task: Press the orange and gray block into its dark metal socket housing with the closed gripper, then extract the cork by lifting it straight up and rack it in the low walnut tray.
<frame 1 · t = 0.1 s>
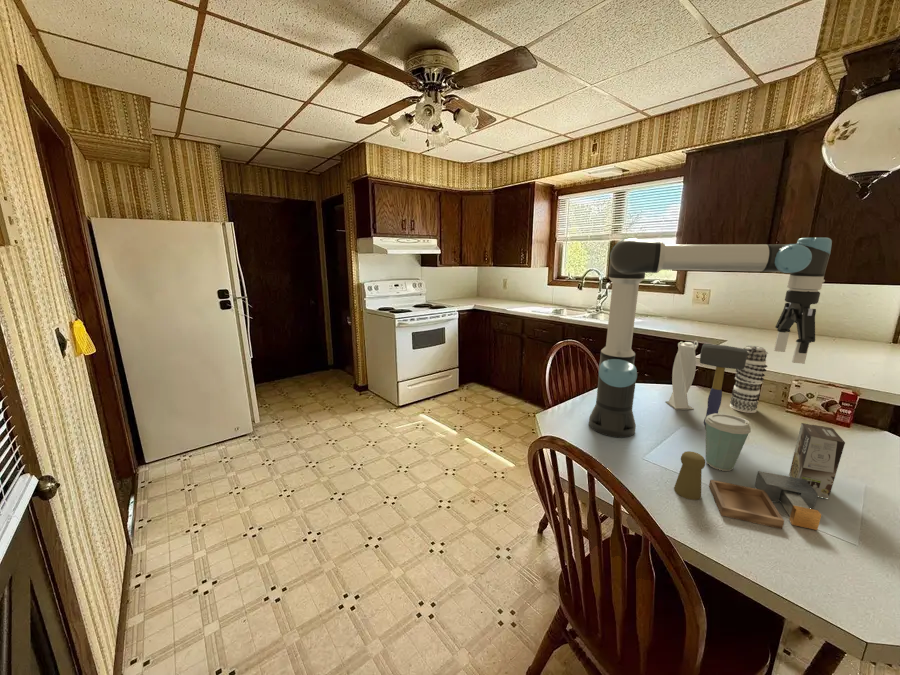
hand: (788, 356, 117), 28 cm above the table, fingers open, 13 cm apart
disposable coffee cup: (719, 465, 108), on the table
coffee box: (807, 487, 98), on the table
white patterned cylinder: (742, 408, 145), on the table
rubber mallet: (709, 428, 130), on the table
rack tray: (742, 506, 90), on the table
cork: (687, 492, 96), on the table
orange and gray block: (794, 503, 88), point 2 cm above the table, slide at 0.0 cm
socket housing: (782, 497, 93), on the table
skyscraper: (678, 407, 147), on the table
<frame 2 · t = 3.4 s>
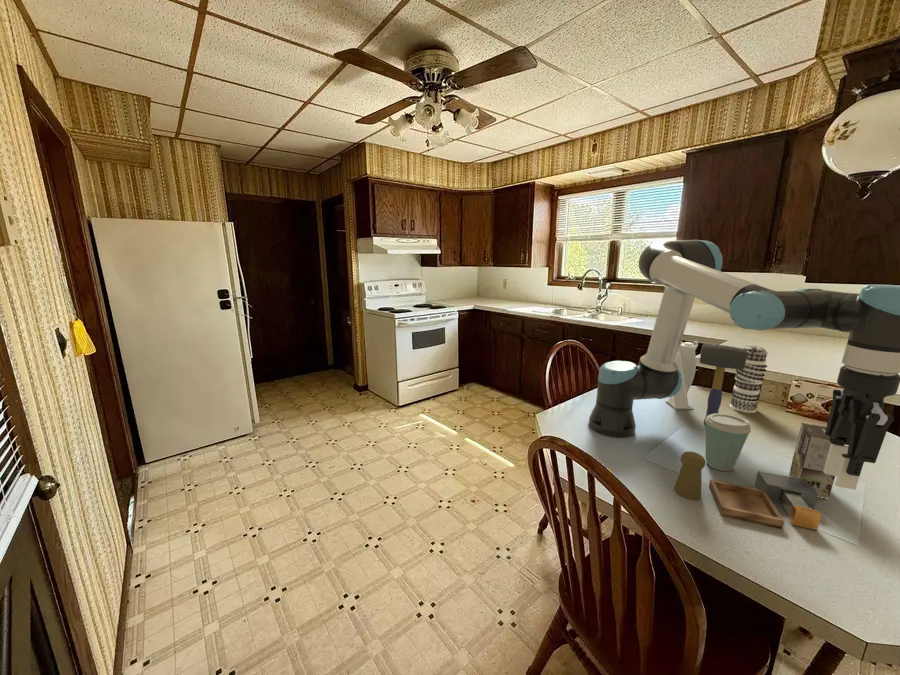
hand: (838, 480, 73), 17 cm above the table, fingers open, 4 cm apart
nothing on the table moved.
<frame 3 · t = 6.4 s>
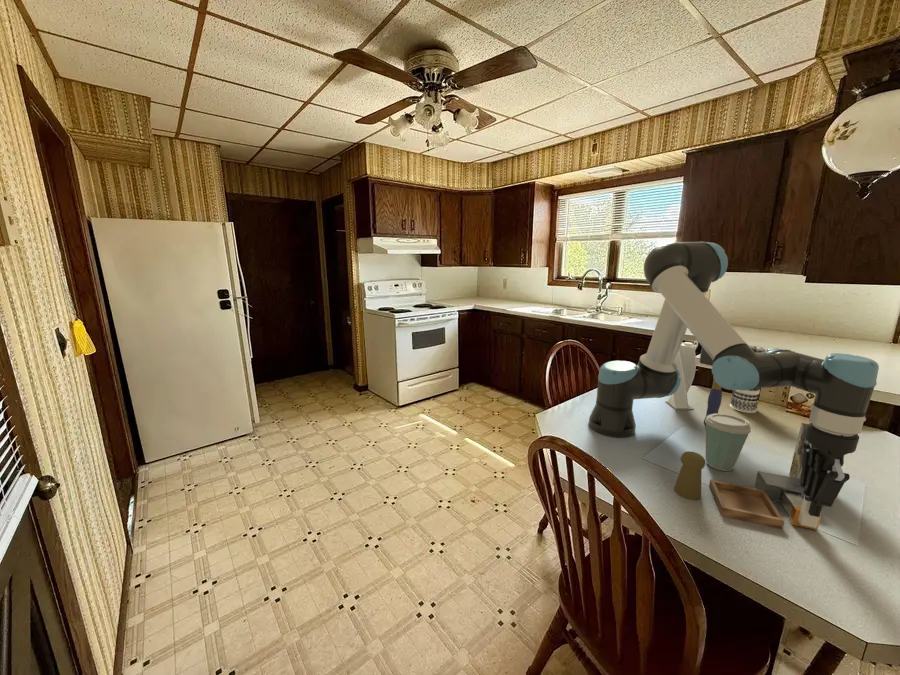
hand: (807, 524, 82), 2 cm above the table, fingers closed
orange and gray block: (794, 503, 88), point 2 cm above the table, slide at 0.0 cm, touching gripper
everything else where it was.
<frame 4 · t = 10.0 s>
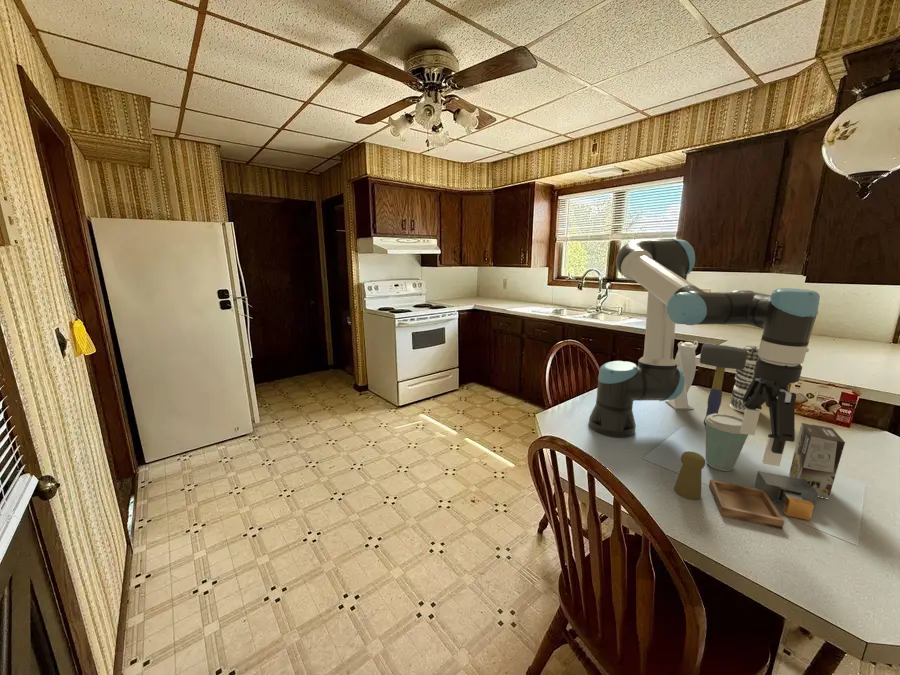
hand: (758, 447, 85), 17 cm above the table, fingers open, 13 cm apart
orange and gray block: (788, 495, 91), point 2 cm above the table, slide at 3.3 cm
everything else where it was.
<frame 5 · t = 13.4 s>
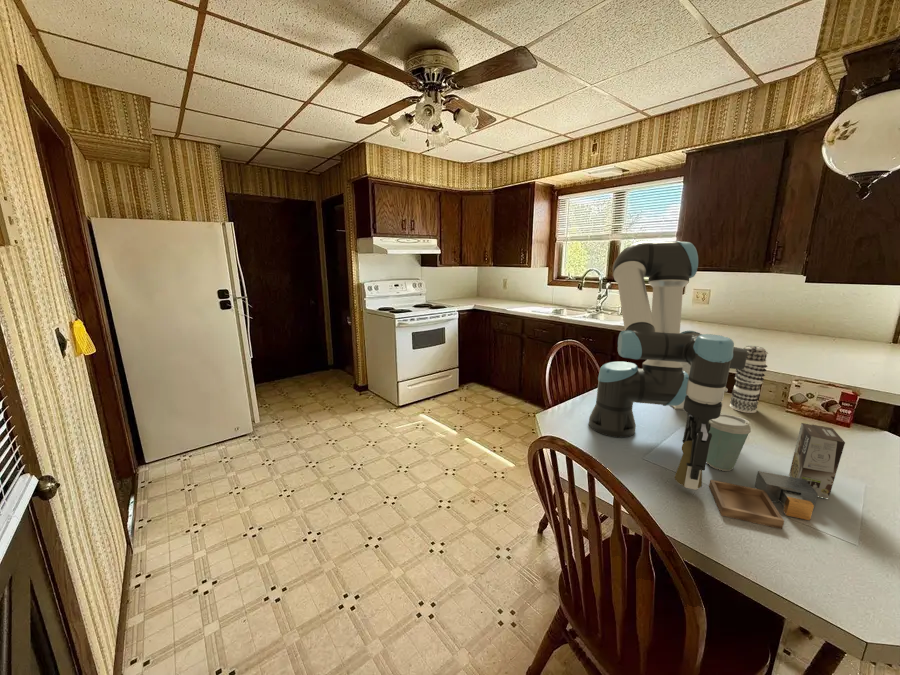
hand: (688, 479, 95), 3 cm above the table, fingers closed on cork, 6 cm apart
cork: (687, 481, 96), point 3 cm above the table, touching gripper
everything else where it was.
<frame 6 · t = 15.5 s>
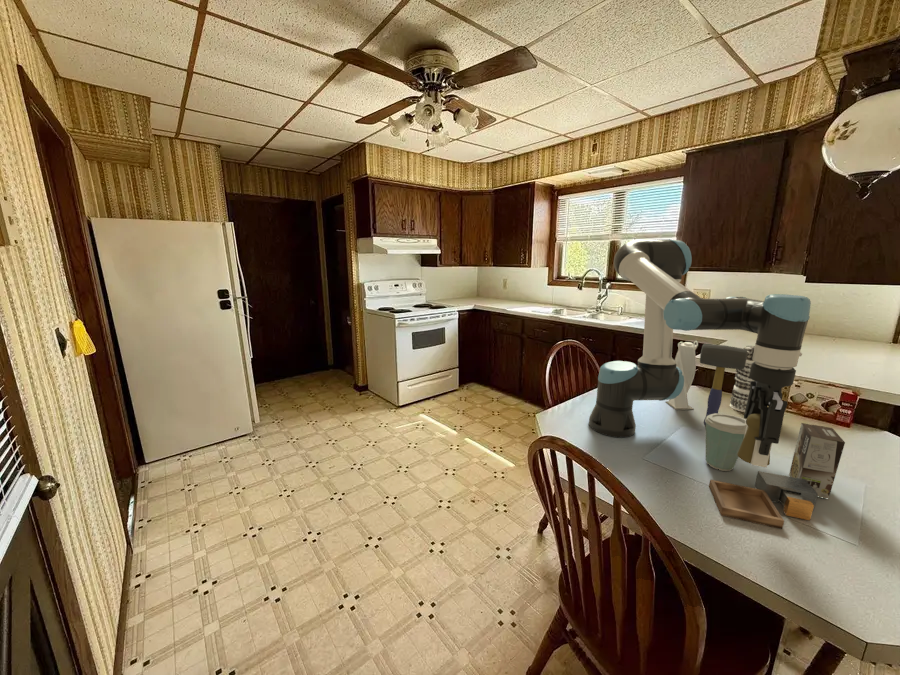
hand: (753, 457, 87), 13 cm above the table, fingers closed on cork, 6 cm apart
cork: (753, 459, 87), point 13 cm above the table, touching gripper
everything else where it was.
when the fingers open (2 cm above the table, at t = 17.7 s): cork drops 1 cm, resting on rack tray.
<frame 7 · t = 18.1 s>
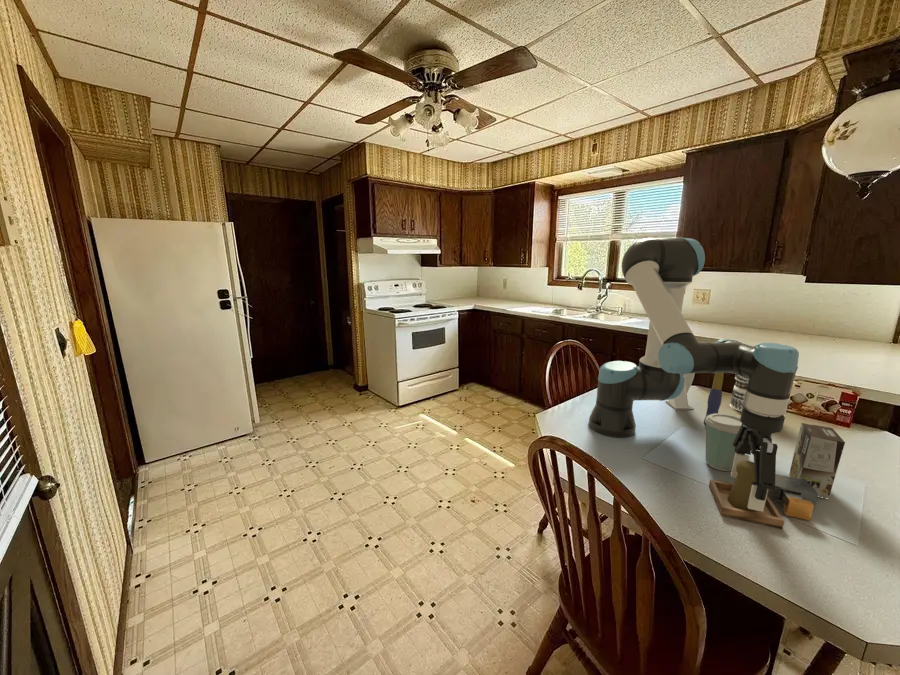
hand: (745, 492, 89), 4 cm above the table, fingers open, 12 cm apart
cork: (742, 504, 90), resting on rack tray
everything else where it was.
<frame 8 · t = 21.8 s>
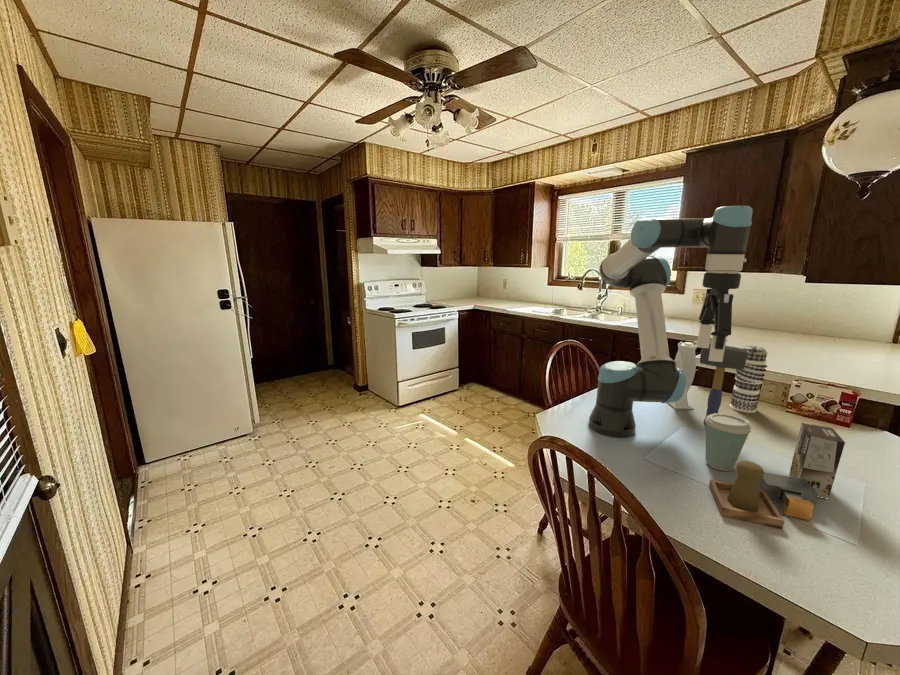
hand: (708, 354, 96), 35 cm above the table, fingers open, 13 cm apart
nothing on the table moved.
at the end: orange and gray block slide at 3.3 cm; cork inside the target area on the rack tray (0.1 cm from its centre), point 0.4 cm above the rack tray's base; cork tilted 0° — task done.
